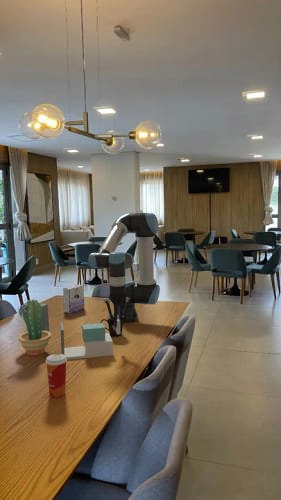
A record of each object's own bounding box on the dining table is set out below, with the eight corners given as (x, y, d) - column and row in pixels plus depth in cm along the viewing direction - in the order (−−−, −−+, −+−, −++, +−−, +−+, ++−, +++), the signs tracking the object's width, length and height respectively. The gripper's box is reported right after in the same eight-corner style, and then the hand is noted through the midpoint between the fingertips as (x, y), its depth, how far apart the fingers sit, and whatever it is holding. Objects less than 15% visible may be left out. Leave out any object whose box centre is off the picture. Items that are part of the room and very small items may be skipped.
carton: (103, 335, 184) (102, 323, 184) (105, 340, 177) (105, 327, 177) (82, 336, 182) (82, 324, 181) (83, 342, 175) (83, 329, 174)
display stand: (108, 346, 188) (108, 318, 186) (112, 355, 177) (112, 325, 175) (61, 350, 183) (60, 322, 181) (62, 360, 171) (61, 330, 170)
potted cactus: (24, 345, 190) (22, 296, 187) (55, 345, 189) (53, 296, 186) (13, 357, 174) (11, 304, 172) (47, 358, 174) (45, 304, 171)
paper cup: (48, 389, 144) (47, 353, 142) (69, 388, 145) (67, 352, 143) (45, 399, 136) (43, 362, 135) (66, 398, 137) (65, 361, 135)
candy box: (78, 307, 260) (77, 284, 258) (84, 309, 257) (84, 285, 255) (63, 312, 249) (62, 287, 247) (69, 313, 246) (69, 288, 244)
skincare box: (43, 336, 203) (42, 307, 202) (31, 335, 205) (29, 306, 203) (50, 331, 212) (49, 303, 210) (38, 330, 213) (37, 302, 211)
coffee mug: (126, 333, 206) (126, 315, 205) (119, 338, 198) (118, 320, 197) (107, 330, 211) (107, 313, 210) (99, 335, 203) (99, 317, 202)
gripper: (105, 287, 174) (106, 337, 177) (132, 285, 178) (133, 334, 180) (102, 284, 182) (103, 332, 184) (129, 282, 185) (129, 329, 187)
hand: (118, 333), depth 182 cm, fingers closed
